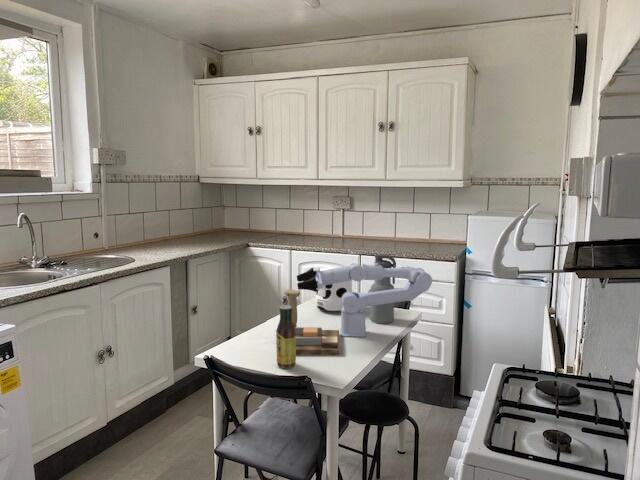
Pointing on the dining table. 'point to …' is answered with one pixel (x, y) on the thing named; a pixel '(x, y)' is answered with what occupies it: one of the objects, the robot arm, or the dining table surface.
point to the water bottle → (382, 311)
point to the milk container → (332, 295)
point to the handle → (293, 303)
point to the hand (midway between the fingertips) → (297, 282)
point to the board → (327, 347)
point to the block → (310, 332)
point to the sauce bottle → (286, 339)
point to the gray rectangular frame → (307, 339)
